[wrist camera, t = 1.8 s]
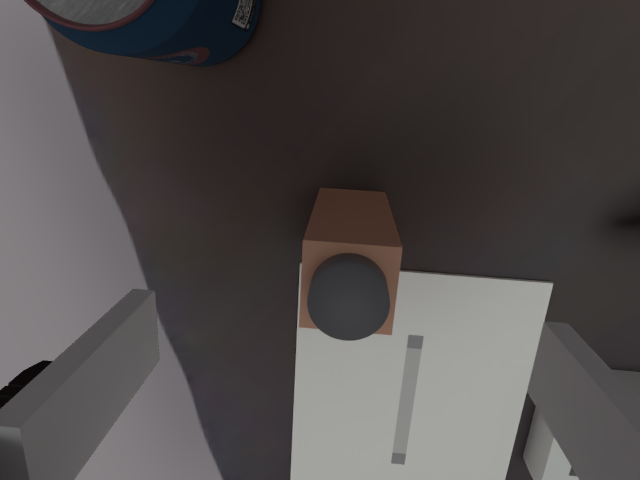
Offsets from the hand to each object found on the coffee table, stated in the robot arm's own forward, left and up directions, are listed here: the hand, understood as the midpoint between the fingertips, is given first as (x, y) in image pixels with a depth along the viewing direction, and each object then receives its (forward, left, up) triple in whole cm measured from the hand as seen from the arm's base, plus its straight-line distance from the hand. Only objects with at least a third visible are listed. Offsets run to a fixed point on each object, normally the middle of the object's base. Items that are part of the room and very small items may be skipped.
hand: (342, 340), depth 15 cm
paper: (+13, +5, -14) cm, 19 cm away
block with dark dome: (0, 0, -14) cm, 14 cm away
